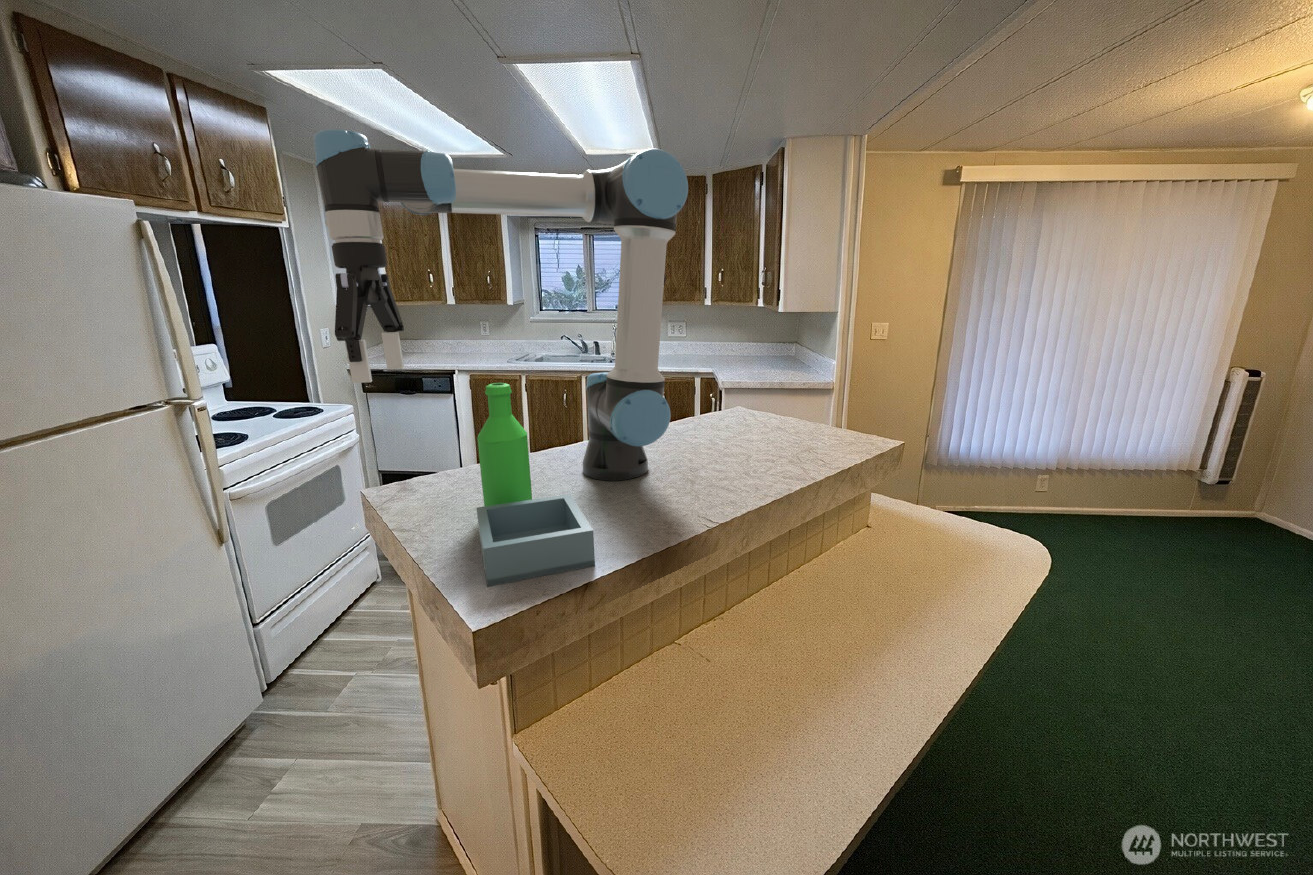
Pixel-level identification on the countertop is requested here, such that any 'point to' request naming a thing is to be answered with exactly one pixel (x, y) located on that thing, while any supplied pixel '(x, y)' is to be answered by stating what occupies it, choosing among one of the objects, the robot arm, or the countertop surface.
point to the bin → (534, 539)
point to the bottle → (503, 451)
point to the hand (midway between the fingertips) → (380, 375)
